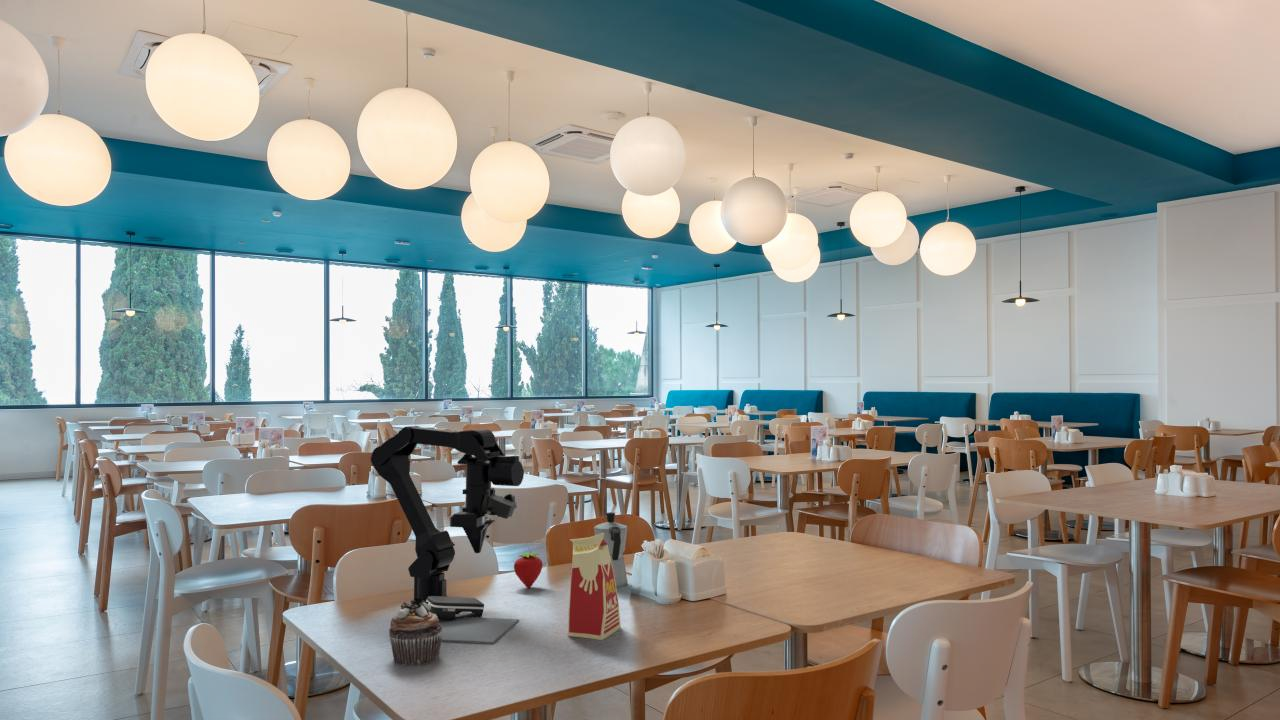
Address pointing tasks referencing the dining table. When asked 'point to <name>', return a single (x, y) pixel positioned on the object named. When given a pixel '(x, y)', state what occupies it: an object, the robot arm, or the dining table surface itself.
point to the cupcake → (415, 635)
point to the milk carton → (592, 590)
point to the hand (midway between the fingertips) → (477, 552)
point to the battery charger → (454, 606)
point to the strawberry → (528, 568)
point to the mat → (475, 629)
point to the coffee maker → (615, 546)
